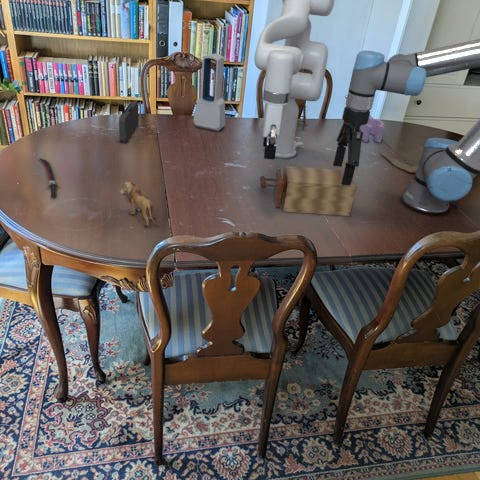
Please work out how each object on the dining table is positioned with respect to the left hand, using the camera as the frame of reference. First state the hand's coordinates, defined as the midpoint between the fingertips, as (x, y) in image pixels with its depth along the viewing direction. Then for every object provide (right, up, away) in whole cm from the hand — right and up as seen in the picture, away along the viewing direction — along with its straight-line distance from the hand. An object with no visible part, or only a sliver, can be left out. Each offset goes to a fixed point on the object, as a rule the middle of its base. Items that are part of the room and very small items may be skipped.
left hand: (268, 152), depth 143 cm
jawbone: (+58, +4, +47) cm, 74 cm away
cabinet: (+15, -15, +9) cm, 24 cm away
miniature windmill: (+17, +26, +74) cm, 80 cm away
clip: (+49, +22, +73) cm, 90 cm away
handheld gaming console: (-54, +17, +47) cm, 73 cm away
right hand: (+23, -6, +4) cm, 24 cm away
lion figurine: (-38, -20, -7) cm, 44 cm away
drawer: (+10, -14, +8) cm, 19 cm away
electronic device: (-22, +23, +61) cm, 69 cm away
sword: (-71, -7, +8) cm, 72 cm away
